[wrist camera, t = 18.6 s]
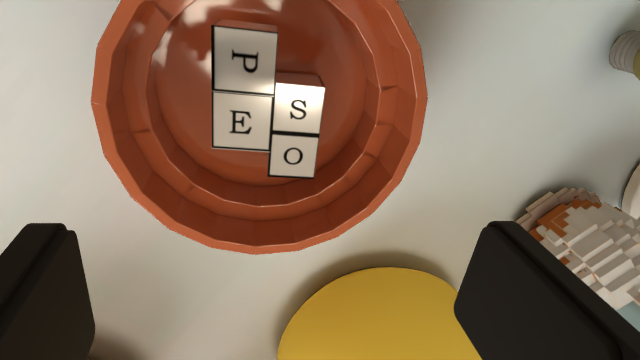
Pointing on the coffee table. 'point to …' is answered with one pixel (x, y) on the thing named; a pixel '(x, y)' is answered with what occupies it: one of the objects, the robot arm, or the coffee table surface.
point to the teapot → (378, 320)
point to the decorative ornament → (590, 241)
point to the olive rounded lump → (626, 53)
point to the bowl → (251, 166)
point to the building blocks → (263, 100)
